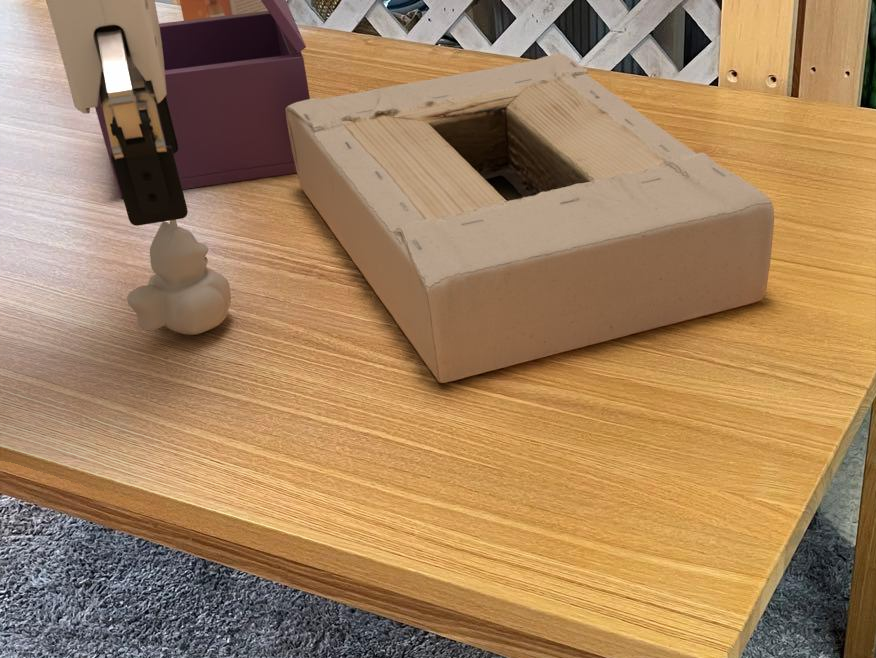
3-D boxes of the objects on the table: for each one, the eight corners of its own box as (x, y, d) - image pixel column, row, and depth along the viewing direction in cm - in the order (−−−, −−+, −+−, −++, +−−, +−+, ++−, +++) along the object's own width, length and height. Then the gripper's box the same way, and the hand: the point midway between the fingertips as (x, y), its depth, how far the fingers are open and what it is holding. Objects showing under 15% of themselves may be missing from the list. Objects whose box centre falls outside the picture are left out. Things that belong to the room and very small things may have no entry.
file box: (120, 198, 92) (88, 83, 86) (117, 138, 101) (88, 31, 95) (321, 169, 95) (303, 56, 89) (300, 114, 104) (283, 8, 98)
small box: (192, 66, 115) (166, -51, 108) (237, 51, 118) (215, -64, 111) (244, 83, 111) (221, -37, 104) (289, 66, 114) (270, -51, 107)
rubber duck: (254, 327, 76) (229, 211, 71) (162, 365, 73) (129, 247, 68) (212, 298, 79) (185, 184, 74) (122, 333, 76) (87, 218, 71)
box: (292, 193, 92) (437, 392, 69) (276, 93, 87) (426, 272, 64) (560, 141, 99) (771, 305, 76) (559, 46, 94) (784, 191, 72)
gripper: (-1, -164, 64) (91, 142, 75) (-24, -96, 51) (91, 261, 63) (140, -178, 66) (209, 125, 77) (151, -115, 53) (233, 237, 64)
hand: (156, 185), depth 70 cm, fingers open, 9 cm apart
